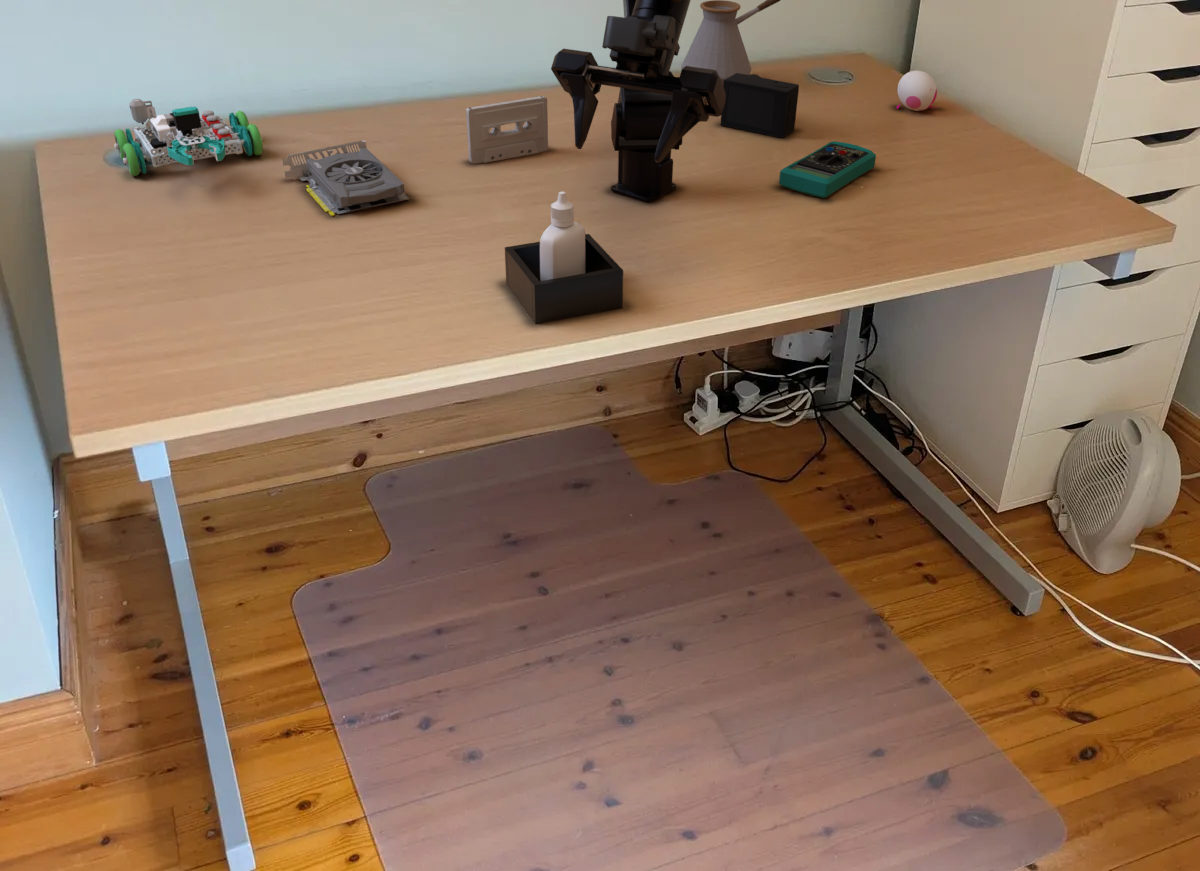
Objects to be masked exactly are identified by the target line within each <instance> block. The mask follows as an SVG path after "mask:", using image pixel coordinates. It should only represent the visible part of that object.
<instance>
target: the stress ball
mask: <svg viewBox="0 0 1200 871" xmlns="http://www.w3.org/2000/svg"><path fill="white" fill-rule="evenodd" d="M898 81H899V82H898V84H897V96H898V99H899V101H900V104H898V105H896V109H897V110H899V108H900V107H901V105H903V106H904V107H905V108H907V109H909V110H910V111H915V112H921V111H924V110H927V109H937V107H936V106H932V105H934V102H935V100H936V99H937V94H938V88H937V84H936V82H935V80H934V79H933V77H932V76H931V75H930V74H928V73H927V72H924V71H922V70H910V71H908V72H906V73H905V74H904V75H902V77H901V78H900V80H898Z"/></svg>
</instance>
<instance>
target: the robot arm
mask: <svg viewBox="0 0 1200 871" xmlns="http://www.w3.org/2000/svg"><path fill="white" fill-rule="evenodd" d="M690 3H691V0H622V5H623V6H622V8H623V17H622V16H614V15H608V16H606V21H605V27H604V33H603V40H602V45H601V46H602V47H601V48H602V49H609V50H610V52H609V58H610V60H611V62H615V63H616V66H615V67H611V66H603V65H599V64H598V62H597V60H596V58H595V56H594V55H593V52H590V51H584V50H577V49H572V48H571V49H570V48H561V49H560V50H559V51H558V52H557V53H556V54H555V55H554V58H553V61H552V64H551V67H550V71H552V73H553V75H554V76H555V78H556V81H558V83H559V84H560V86H561V88H562V90H563V91H564V92H566V93H568V95H569V96H570V98H571V100H572V105H573V118H574V119H573V122H574V123H573V125H574V146H575V148H576V149H577V150H582V149H583V146H584V145H585V142H586V141H587V138H588V135H589V132H590V129H591V126H592V123H593V121H594V117H595V114H596V110H597V108H598V105H599V100H598V98H597V96H596V95H597V94H598V93H600V91H601V88H602V86H606V87H607V86H608V87H613V88H619V92H618V99H617V102H614V104H613V108H612V115H611V120H610V135H611V136H610V137H611V143H612V147H613V150H614V152H618V155H617V165H618V166H617V182H616V183H615V184H612V185H611V186H610V191H611V192H614V193H617V194H620V195H624V196H626V197H630V198H633V199H637V200H641V201H644V202H647V203H648V202H649V203H650V202H652V201H654V200H656V199H658V198H660V197H662V196H664V195H666V194H668V193H669V192H670V193H671V192H672V191H673V190H676V189H677V184H676V183H674V182H673V174H674V173H673V171H674V159H673V158H672V150H675V151H677V150H678V151H679V150H680V147H681V146H682V145H683V138H684V137H685V135H687V133H689V131H691V130H692V129H693V128H694V127H695V126H697V125H698V123H701V122H703V123H705V122H708V120H709V117H715V118H718V117H721V115H722V111H723V108H724V105H725V99H726V93H725V90H724V88H723V85H722V82H721V79H720V76H719V75H718V73H717V71H716V70H712V69H704V68H697V67H690V66H685V67H684V68H683V69H681V70H680V75H679V76H675V75H674V74H673V72H672V71H671V67H672V64H673V60H674V57H675V56H677V57H678V56H679V52H680V49H681V46H680V44H679V41H680V37H681V34H682V30H683V27H684V24H685V20H686V17H687V13H688V10H689V7H690Z"/></svg>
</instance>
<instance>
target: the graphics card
mask: <svg viewBox="0 0 1200 871" xmlns="http://www.w3.org/2000/svg"><path fill="white" fill-rule="evenodd" d="M367 147H368V146H367V141H366V140H365V139H362V140H357V141H352V142H346V143H341V144H335V145H331V146H326V147H321V148H317V149H311V150H305V151H301V152H296V153H290V154H288V155H287V157H285V158H282V159H281V161H282V165H283V167H285V166H289V167H290V168H289V170H284V172H283V173H284V178H285V179H290V178H291V179H292V180H300V181H301V182H306V181H307V182H308V183H309V184H306V185H305V186H306V187H307V188H306V189H305V190H306V191H307V192H308V194H309V195H310V196H311V197H312V198H313V200H314V201H315V202H316V203H317V204H318V206H319V207H320V208H321V209H322V210H323V211H324V212H325V213H328V214H329V215H330V217H336V214H337V215H341V214H345V213H351V212H354V211H355V212H356V211H360V210H364V209H365V210H366V209H370V208H374V207H379V206H383V205H388V204H393V203H398V202H402V201H403V202H404V201H406V200H407V201H408V200H410V198H409V196H408V195H407V194H406V193H405V192H406V191H405V190H406V189H405V183H404V182H403V181H402V180H401V179H399V177H398V176H396V174H394V172H392V171H391V170H390V168H388V167H387V166H386V165H385V164H384V163H383V162H382V161H381V160H380V159H379V158H378V157H376V155H374V153H372V152H371V151H370V150H369V148H367ZM339 149H341V150H342V152H343V153H341V152H340V151H339ZM334 150H336V152H335V154H333V153H334ZM324 152H326V154H327V155H328V156H325V154H324ZM317 153H319V155H320V156H321V158H318V156H317ZM309 155H312V157H313V158H312V157H310V156H309ZM298 159H299V160H298Z"/></svg>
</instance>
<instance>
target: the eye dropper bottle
mask: <svg viewBox="0 0 1200 871" xmlns="http://www.w3.org/2000/svg"><path fill="white" fill-rule="evenodd" d="M557 194H558V195H557V200H556V201H553V202H552V203H551V204H550V225H548V226H547V227H546V229H545V230H544V231H543V232H542V234H541V237H540V239H539V242H540V281H544V280H550V279H556V278H561V277H567V276H573V275H579V274H585V234H586V230H585V227H584V225H583V224H581V223H580V222H577V221H575V205H574V204H573V203H572V202H571V201H568V199H567V193H566V191H559V192H558V193H557Z"/></svg>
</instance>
